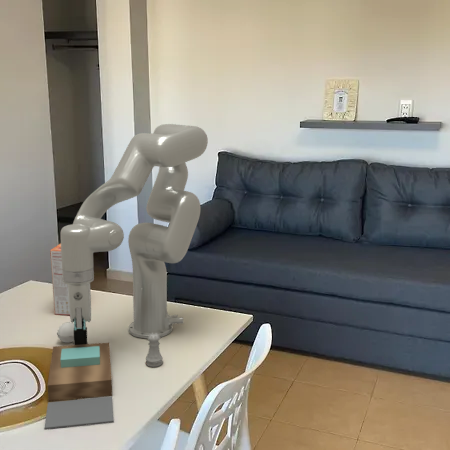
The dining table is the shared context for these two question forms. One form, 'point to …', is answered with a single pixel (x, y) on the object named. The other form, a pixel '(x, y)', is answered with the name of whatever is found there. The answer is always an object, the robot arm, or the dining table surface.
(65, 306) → the cracker box
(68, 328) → the white sphere
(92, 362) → the teal rectangular block
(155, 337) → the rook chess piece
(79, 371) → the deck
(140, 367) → the dining table surface
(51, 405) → the mat
